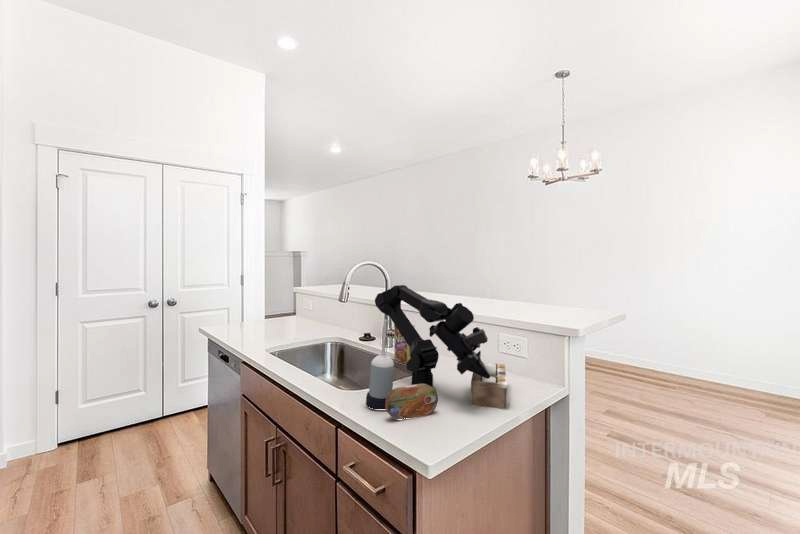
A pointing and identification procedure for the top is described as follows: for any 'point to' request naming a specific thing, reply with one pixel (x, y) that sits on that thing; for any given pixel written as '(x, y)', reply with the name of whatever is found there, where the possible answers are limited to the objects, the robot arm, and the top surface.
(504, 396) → the brown compartment box
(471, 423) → the top surface
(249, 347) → the top surface
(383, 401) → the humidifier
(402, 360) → the candy box
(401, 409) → the tin
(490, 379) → the button
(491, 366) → the middle button
